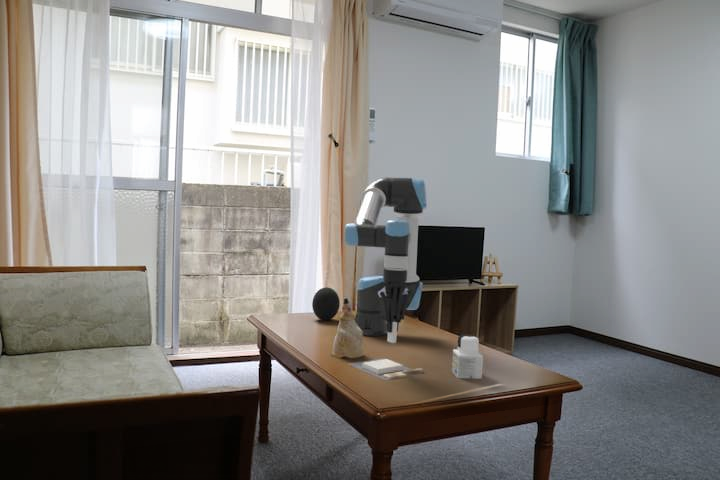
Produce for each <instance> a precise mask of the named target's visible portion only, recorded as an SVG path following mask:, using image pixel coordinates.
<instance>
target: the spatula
mask: <svg viewBox="0 0 720 480" xmlns="http://www.w3.org/2000/svg"><path fill="white" fill-rule="evenodd" d="M410 369H411V370H405V371H401V372H396V373H390V374H384V375H383V377H385V378H387V379H393V380H395V379H394V378H398V379H400V378H399V377H404V378H406V377H405V376H407V375H410V374H416V373H424V370H425V369H424V368H422V367H417V368H413V369H412V368H410Z"/></svg>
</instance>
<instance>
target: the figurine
mask: <svg viewBox="0 0 720 480" xmlns="http://www.w3.org/2000/svg"><path fill="white" fill-rule="evenodd" d="M341 310H342V313H343V314H341V315H340V316H339V323H338V325H337V331H336V335H335V337H334V338H333V345H332V353H331V355H330V356H331V357H336V358H339V359H353V358H362V357H365V354H364V350H363V349H364V347H363V342H364V335H363V333H362V331H361V329H360V328H359V327H358V325H357V324H356V322H355V316H356V314H354V313H353V312H352V311H353V306H352V304H351V303H350V301H349V298H346V297H345V298H344V299H343V304H342V305H341Z"/></svg>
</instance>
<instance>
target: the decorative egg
mask: <svg viewBox="0 0 720 480" xmlns="http://www.w3.org/2000/svg"><path fill="white" fill-rule="evenodd" d="M311 302H312V303H311V305H312V311H313V313H314V315H315V316H316V317H317V319H320V320H322V321H325V322H326V321H330V320H333V318H335V316H337V314H338V312H339V310H340V304H341V303H340V302H341V301H340V297H339V295H338V293H337V292H336V290H334V289H333V288H331V287H321V288H320V289H318V290H317V292H316V293H315V294H314V296H313V299H312V301H311Z"/></svg>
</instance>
